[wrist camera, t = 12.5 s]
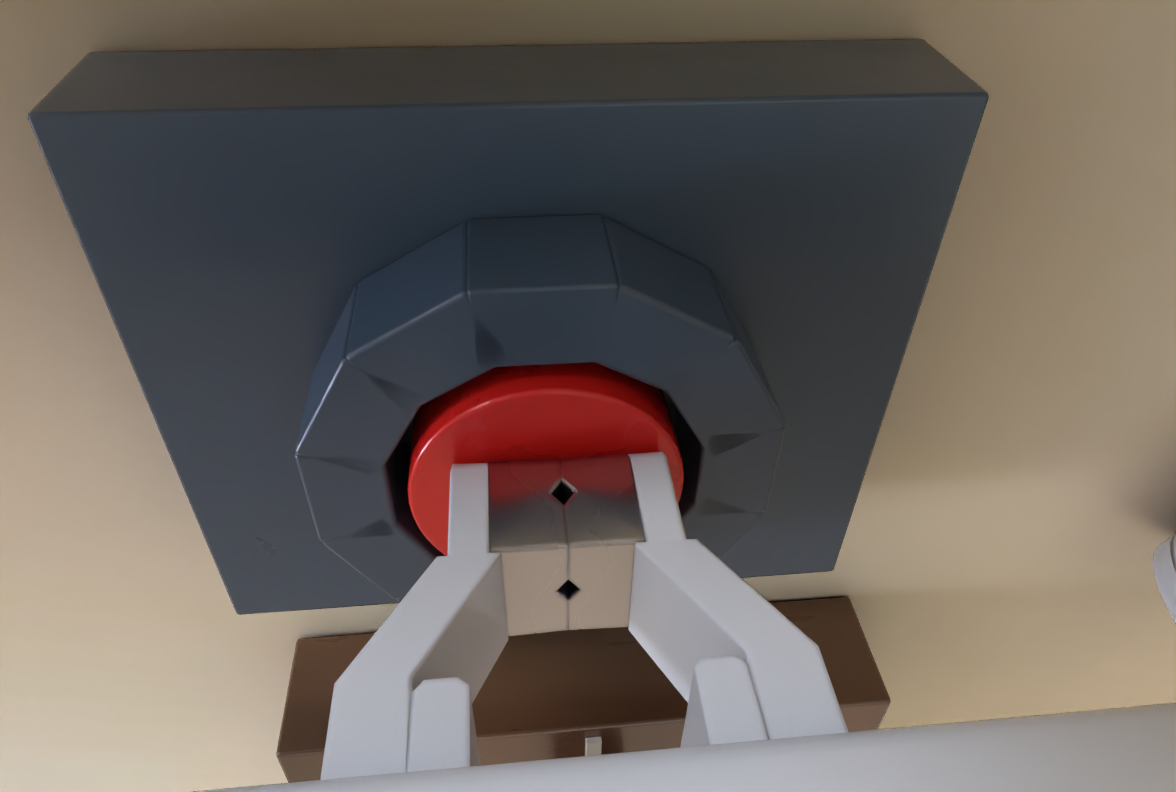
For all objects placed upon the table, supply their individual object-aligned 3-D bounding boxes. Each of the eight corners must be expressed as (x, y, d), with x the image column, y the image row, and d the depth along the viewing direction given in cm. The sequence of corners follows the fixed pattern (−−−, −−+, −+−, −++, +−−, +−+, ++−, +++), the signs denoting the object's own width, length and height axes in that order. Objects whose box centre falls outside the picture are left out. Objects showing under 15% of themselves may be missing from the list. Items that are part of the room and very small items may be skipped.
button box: (257, 529, 18) (214, 701, 15) (87, 50, 12) (-48, 183, 9) (802, 494, 19) (864, 648, 16) (924, 37, 13) (1065, 152, 10)
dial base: (369, 842, 29) (359, 949, 26) (296, 637, 21) (273, 763, 18) (775, 803, 30) (801, 901, 27) (849, 595, 22) (895, 707, 20)
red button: (427, 508, 15) (423, 591, 13) (398, 319, 12) (388, 399, 11) (655, 493, 15) (673, 573, 14) (674, 307, 12) (698, 383, 11)
